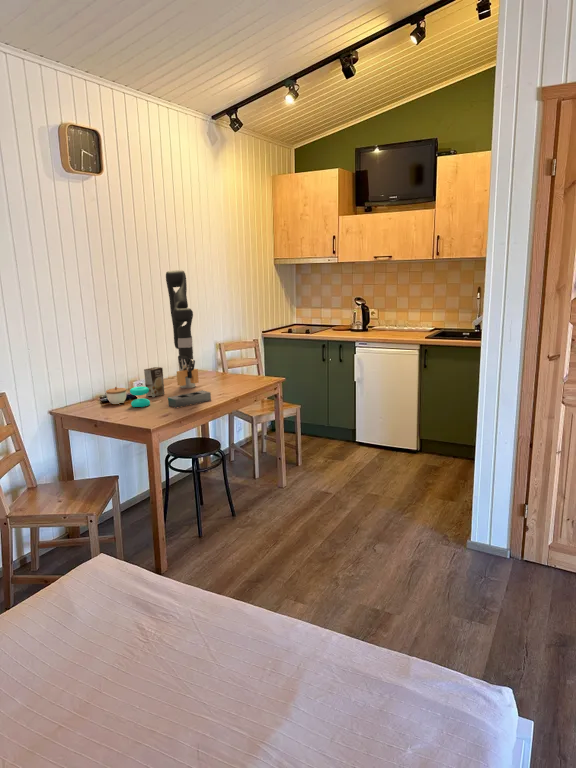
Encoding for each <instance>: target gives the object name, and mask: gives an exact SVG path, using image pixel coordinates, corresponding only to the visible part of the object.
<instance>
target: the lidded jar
mask: <svg viewBox="0 0 576 768" xmlns="http://www.w3.org/2000/svg"><path fill="white" fill-rule="evenodd" d="M105 393H106V398H107V400H108V401H109V403H110V404H111V405H112V404H119V403H123V404H124V402H126V399H127V388H125V387H117V386H115V387H114V388H108V389H107V390H106V391H105ZM119 405H120V404H119Z"/></svg>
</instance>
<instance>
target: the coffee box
mask: <svg viewBox="0 0 576 768" xmlns="http://www.w3.org/2000/svg"><path fill="white" fill-rule="evenodd" d="M163 371H164V369H163V367H162V366H161V367H159V366H158V367H155V366H154V367H151V368H145V369H143V373H144V383H145V386H144V387H148V388H149V392H148V393H147V394H145V395H146V397H147V396H152V397H151V398H156V397H155V396H157V397H159V396H158V395H160V396H163V395H165V383H164V372H163ZM162 394H163V395H162Z"/></svg>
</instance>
